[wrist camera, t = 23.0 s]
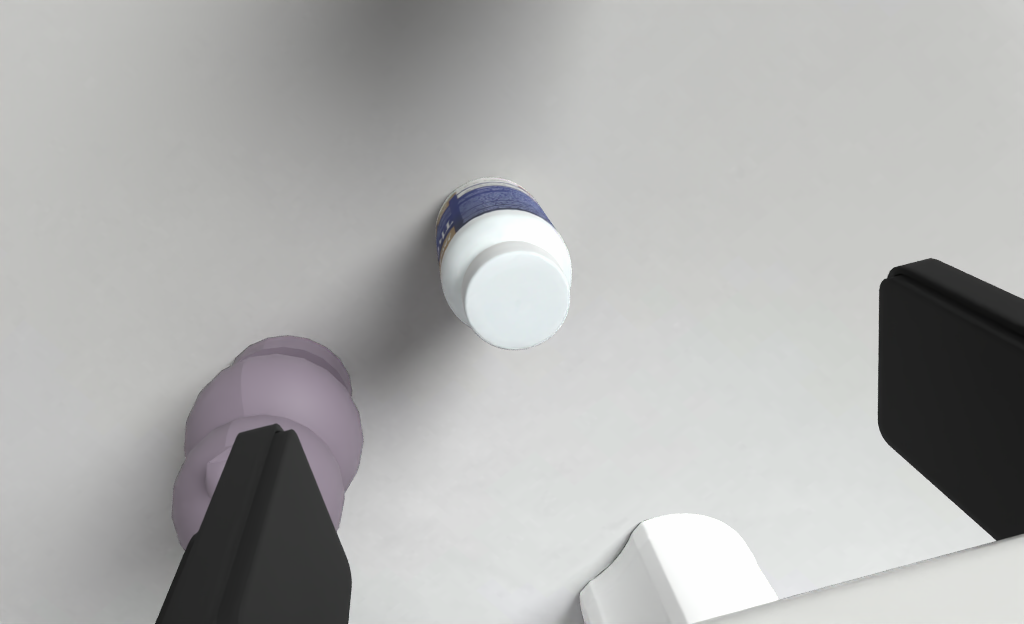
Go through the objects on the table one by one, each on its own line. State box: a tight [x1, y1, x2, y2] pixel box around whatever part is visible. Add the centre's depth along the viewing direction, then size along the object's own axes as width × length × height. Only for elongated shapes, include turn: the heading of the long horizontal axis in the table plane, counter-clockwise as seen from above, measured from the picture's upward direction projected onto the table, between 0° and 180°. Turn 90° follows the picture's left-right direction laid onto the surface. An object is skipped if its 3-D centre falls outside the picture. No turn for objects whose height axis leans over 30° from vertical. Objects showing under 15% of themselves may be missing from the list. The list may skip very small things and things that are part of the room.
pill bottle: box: [436, 177, 572, 350], centre depth 30 cm, size 5×5×10 cm
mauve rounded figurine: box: [172, 336, 364, 550], centre depth 31 cm, size 8×8×12 cm
